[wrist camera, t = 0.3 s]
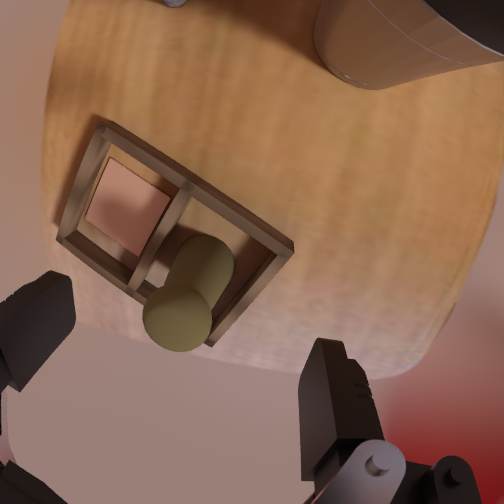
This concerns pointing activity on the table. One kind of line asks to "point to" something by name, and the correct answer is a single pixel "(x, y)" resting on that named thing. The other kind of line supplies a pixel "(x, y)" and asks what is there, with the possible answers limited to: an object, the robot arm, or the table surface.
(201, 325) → the cork
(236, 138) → the table surface
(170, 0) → the flask
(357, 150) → the table surface
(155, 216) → the caddy
